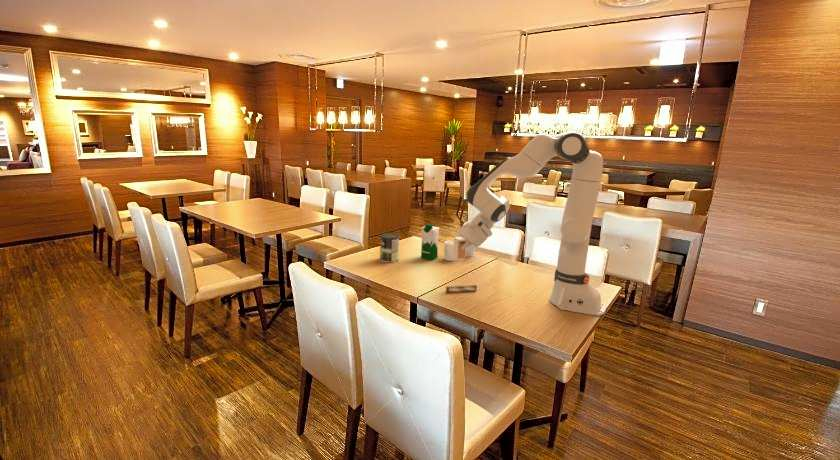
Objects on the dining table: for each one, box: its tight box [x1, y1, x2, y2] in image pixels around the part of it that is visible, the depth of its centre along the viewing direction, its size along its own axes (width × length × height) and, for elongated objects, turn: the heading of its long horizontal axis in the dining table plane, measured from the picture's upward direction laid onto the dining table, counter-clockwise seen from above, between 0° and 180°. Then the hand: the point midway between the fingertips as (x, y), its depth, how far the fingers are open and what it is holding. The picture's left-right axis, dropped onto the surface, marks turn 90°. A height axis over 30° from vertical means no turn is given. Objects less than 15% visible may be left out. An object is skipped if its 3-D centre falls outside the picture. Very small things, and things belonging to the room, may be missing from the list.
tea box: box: [453, 236, 467, 262], centre depth 175 cm, size 5×4×10 cm
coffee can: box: [379, 232, 400, 263], centre depth 213 cm, size 10×10×14 cm
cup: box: [458, 234, 477, 257], centre depth 228 cm, size 12×12×14 cm
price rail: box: [445, 284, 478, 294], centre depth 173 cm, size 14×2×2 cm, turn 104°
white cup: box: [443, 240, 456, 262], centre depth 218 cm, size 8×8×10 cm
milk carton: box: [420, 223, 440, 261], centre depth 218 cm, size 9×9×20 cm
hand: (458, 247), depth 175 cm, fingers closed on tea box, 5 cm apart
